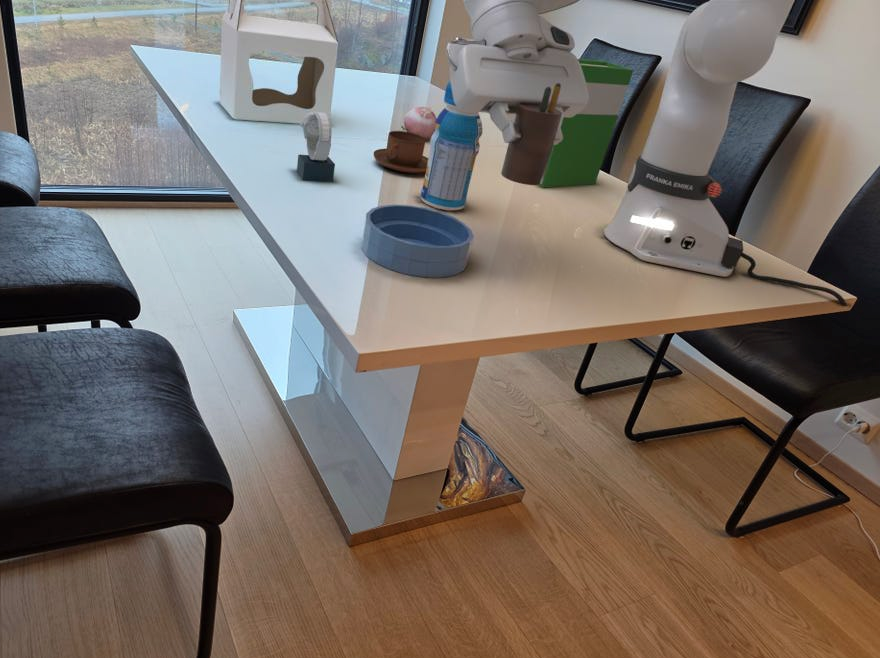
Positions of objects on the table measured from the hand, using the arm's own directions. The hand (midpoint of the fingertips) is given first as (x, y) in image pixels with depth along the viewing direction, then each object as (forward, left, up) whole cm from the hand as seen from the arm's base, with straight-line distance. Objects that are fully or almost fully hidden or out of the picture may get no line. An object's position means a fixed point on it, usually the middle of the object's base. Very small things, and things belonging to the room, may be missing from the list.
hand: (535, 141), depth 86 cm
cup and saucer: (+26, -40, -19) cm, 52 cm away
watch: (+37, -21, -19) cm, 47 cm away
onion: (+30, -67, -19) cm, 76 cm away
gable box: (+61, -55, -19) cm, 85 cm away
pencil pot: (0, 0, -5) cm, 5 cm away
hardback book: (-4, -61, -19) cm, 64 cm away
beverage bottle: (+14, -25, -19) cm, 35 cm away
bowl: (+12, +2, -19) cm, 23 cm away
